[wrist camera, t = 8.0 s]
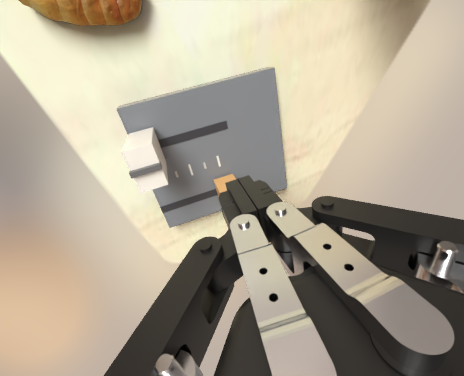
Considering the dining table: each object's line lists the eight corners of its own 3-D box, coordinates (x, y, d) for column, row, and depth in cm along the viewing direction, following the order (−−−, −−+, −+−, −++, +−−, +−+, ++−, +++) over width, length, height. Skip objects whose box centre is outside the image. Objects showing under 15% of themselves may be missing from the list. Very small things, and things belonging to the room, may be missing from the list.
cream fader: (153, 126, 24) (152, 144, 19) (166, 161, 26) (169, 186, 21) (128, 133, 24) (119, 153, 18) (143, 168, 26) (140, 195, 20)
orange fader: (232, 173, 29) (250, 198, 24) (238, 199, 31) (256, 228, 26) (213, 179, 29) (226, 206, 23) (220, 205, 31) (234, 235, 25)
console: (267, 67, 27) (275, 67, 25) (280, 181, 35) (287, 188, 33) (119, 106, 25) (116, 109, 23) (169, 219, 32) (169, 228, 31)
